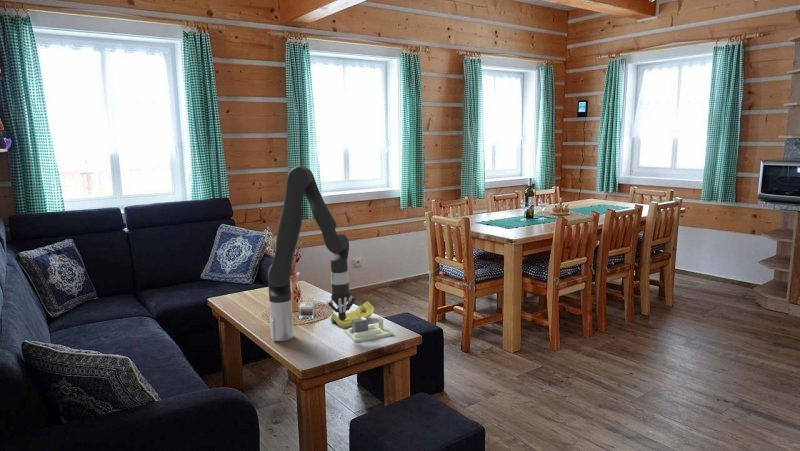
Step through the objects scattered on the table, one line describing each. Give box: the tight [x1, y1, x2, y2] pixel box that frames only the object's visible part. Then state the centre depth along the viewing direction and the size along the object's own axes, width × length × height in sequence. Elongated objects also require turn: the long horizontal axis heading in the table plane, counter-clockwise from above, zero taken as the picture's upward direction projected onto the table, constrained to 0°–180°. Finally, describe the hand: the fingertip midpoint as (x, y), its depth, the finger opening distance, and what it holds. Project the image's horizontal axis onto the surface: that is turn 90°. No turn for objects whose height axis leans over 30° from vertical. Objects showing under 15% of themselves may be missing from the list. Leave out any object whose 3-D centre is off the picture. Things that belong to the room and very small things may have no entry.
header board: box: [343, 316, 394, 343], centre depth 239 cm, size 18×13×6 cm
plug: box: [351, 317, 369, 334], centre depth 237 cm, size 6×4×6 cm, turn 116°
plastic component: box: [329, 300, 375, 329], centre depth 256 cm, size 20×7×10 cm
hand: (342, 320), depth 234 cm, fingers closed
